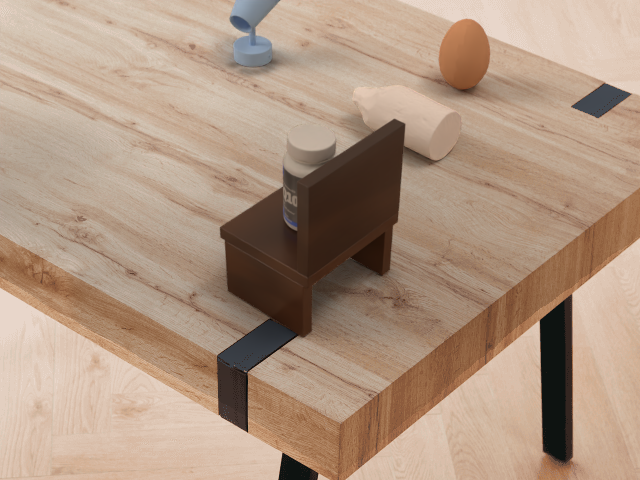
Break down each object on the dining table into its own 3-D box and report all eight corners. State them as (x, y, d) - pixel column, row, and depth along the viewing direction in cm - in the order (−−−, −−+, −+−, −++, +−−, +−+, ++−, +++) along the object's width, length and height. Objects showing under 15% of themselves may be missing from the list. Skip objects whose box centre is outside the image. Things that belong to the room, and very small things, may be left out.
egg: (494, 83, 124) (503, 17, 119) (472, 105, 121) (480, 38, 115) (450, 69, 126) (457, 3, 121) (427, 90, 123) (432, 23, 117)
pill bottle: (276, 207, 93) (274, 124, 88) (327, 197, 95) (329, 116, 89) (292, 239, 90) (292, 156, 85) (345, 229, 91) (348, 147, 86)
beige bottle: (372, 104, 120) (375, 60, 116) (460, 146, 114) (465, 100, 111) (337, 126, 116) (339, 80, 112) (426, 170, 111) (430, 123, 107)
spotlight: (251, 38, 130) (221, 62, 125) (249, -41, 123) (217, -18, 118) (287, 48, 128) (258, 73, 124) (287, -32, 122) (255, -8, 117)
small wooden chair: (223, 288, 96) (213, 137, 85) (312, 227, 103) (313, 80, 92) (307, 340, 91) (308, 187, 81) (394, 272, 98) (405, 123, 88)
